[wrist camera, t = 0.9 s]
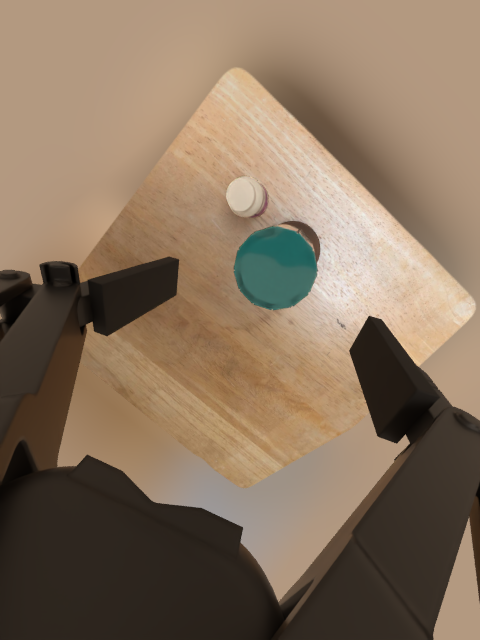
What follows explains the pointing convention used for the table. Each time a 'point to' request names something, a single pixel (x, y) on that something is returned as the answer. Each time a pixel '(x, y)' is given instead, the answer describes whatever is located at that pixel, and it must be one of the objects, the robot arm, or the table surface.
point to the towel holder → (309, 233)
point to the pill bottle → (247, 197)
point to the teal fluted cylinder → (276, 267)
